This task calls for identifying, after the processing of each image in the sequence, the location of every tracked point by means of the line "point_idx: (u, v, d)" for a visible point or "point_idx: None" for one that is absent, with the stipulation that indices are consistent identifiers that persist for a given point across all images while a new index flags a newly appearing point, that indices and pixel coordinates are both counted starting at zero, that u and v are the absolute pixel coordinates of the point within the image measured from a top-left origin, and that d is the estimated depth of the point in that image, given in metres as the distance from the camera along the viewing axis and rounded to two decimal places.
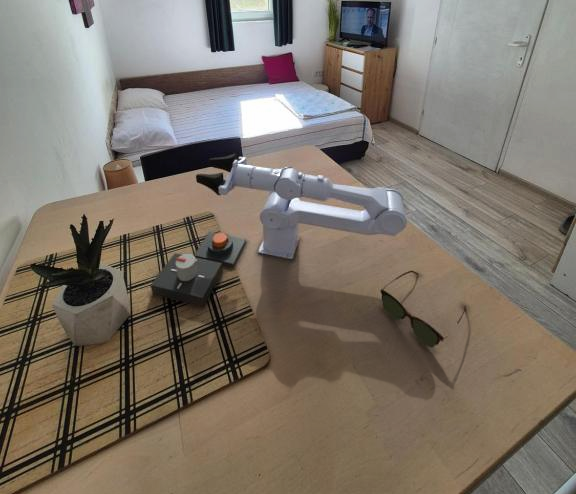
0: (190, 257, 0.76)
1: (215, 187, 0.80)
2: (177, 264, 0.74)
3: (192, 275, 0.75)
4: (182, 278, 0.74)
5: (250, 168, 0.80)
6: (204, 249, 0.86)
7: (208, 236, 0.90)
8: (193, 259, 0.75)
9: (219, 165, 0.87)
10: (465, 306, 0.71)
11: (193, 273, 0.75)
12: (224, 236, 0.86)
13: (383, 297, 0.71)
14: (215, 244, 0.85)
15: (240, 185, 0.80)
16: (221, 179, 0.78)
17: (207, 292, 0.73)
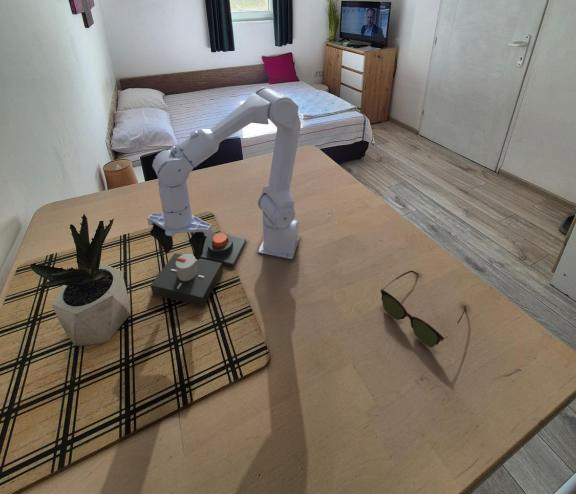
0: (190, 257, 0.76)
1: None
2: (177, 264, 0.74)
3: (192, 275, 0.75)
4: (182, 278, 0.74)
5: (170, 215, 0.66)
6: (204, 249, 0.86)
7: (208, 236, 0.90)
8: (193, 259, 0.75)
9: (169, 239, 0.74)
10: (465, 306, 0.71)
11: (193, 273, 0.75)
12: (224, 236, 0.86)
13: (383, 297, 0.71)
14: (215, 244, 0.85)
15: (191, 213, 0.70)
16: (196, 237, 0.69)
17: (207, 292, 0.73)
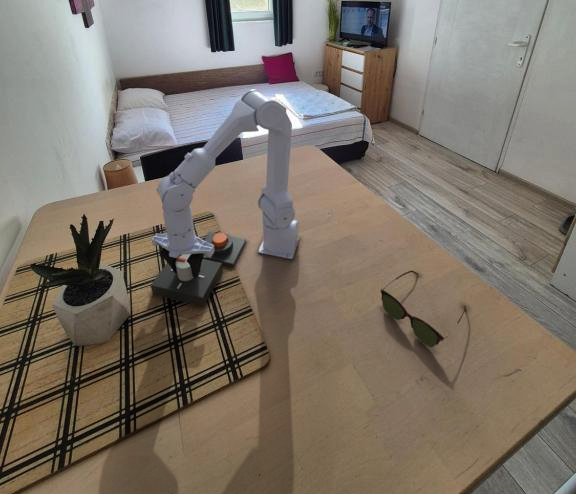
0: None
1: None
2: (177, 264, 0.74)
3: (192, 275, 0.75)
4: (182, 278, 0.74)
5: (174, 237, 0.69)
6: None
7: (208, 236, 0.90)
8: None
9: None
10: (465, 306, 0.71)
11: None
12: (224, 236, 0.86)
13: (383, 297, 0.71)
14: (215, 244, 0.85)
15: (194, 234, 0.72)
16: (194, 257, 0.71)
17: (207, 292, 0.73)
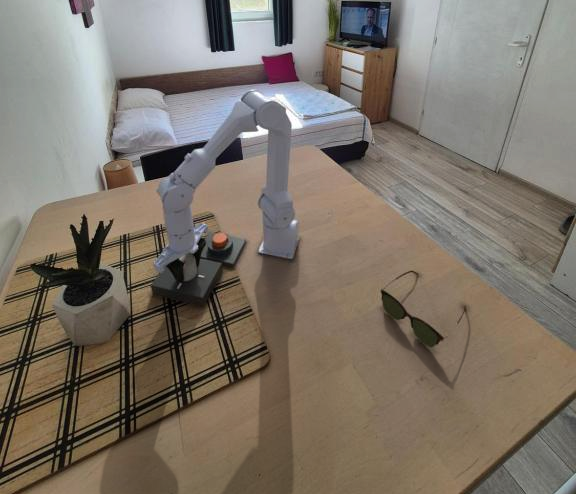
0: (183, 257, 0.76)
1: None
2: (186, 266, 0.73)
3: None
4: (194, 274, 0.75)
5: (190, 233, 0.70)
6: (204, 249, 0.86)
7: (208, 236, 0.90)
8: (187, 254, 0.77)
9: None
10: (465, 306, 0.71)
11: None
12: (224, 236, 0.86)
13: (383, 297, 0.71)
14: (215, 244, 0.85)
15: None
16: (199, 242, 0.76)
17: (207, 292, 0.73)
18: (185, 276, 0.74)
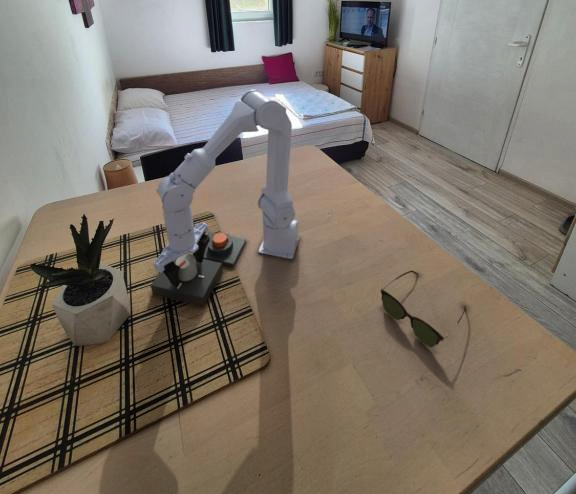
0: (183, 257, 0.76)
1: None
2: (186, 266, 0.73)
3: None
4: (194, 274, 0.75)
5: (190, 232, 0.70)
6: None
7: None
8: (187, 254, 0.77)
9: None
10: (465, 306, 0.71)
11: None
12: (224, 236, 0.86)
13: (383, 297, 0.71)
14: (215, 244, 0.85)
15: None
16: (203, 238, 0.77)
17: (207, 292, 0.73)
18: (185, 276, 0.74)
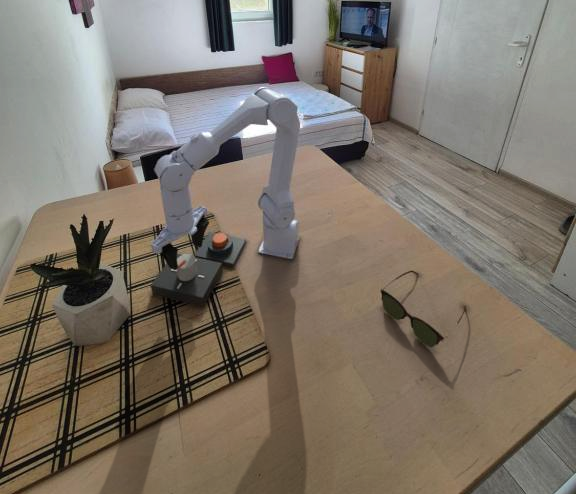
0: (183, 257, 0.76)
1: None
2: (186, 266, 0.73)
3: None
4: (194, 274, 0.75)
5: (189, 214, 0.69)
6: (204, 249, 0.86)
7: (208, 236, 0.90)
8: (187, 254, 0.77)
9: None
10: (465, 306, 0.71)
11: None
12: (224, 236, 0.86)
13: (383, 297, 0.71)
14: (215, 244, 0.85)
15: None
16: (202, 221, 0.75)
17: (207, 292, 0.73)
18: (185, 276, 0.74)
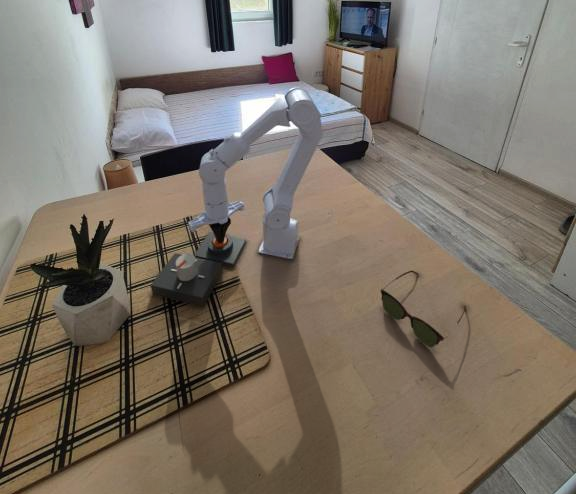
0: (183, 257, 0.76)
1: None
2: (186, 266, 0.73)
3: None
4: (194, 274, 0.75)
5: (222, 205, 0.79)
6: (204, 249, 0.86)
7: (208, 236, 0.90)
8: (187, 254, 0.77)
9: None
10: (465, 306, 0.71)
11: None
12: (224, 239, 0.86)
13: (383, 297, 0.71)
14: None
15: None
16: None
17: (207, 292, 0.73)
18: (185, 276, 0.74)
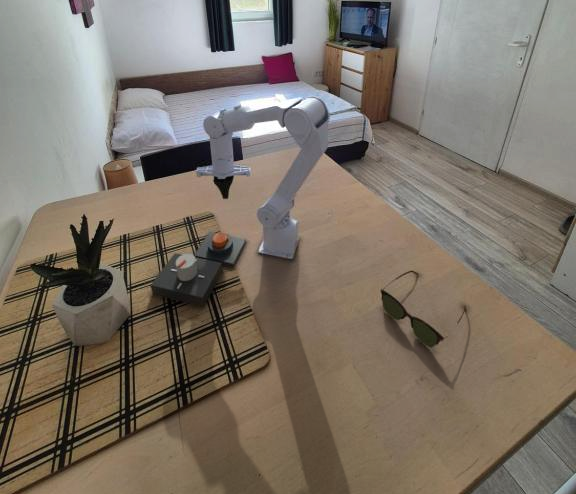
0: (183, 257, 0.76)
1: None
2: (186, 266, 0.73)
3: None
4: (194, 274, 0.75)
5: (222, 162, 0.84)
6: (204, 249, 0.86)
7: (208, 236, 0.90)
8: (187, 254, 0.77)
9: (224, 187, 0.91)
10: (465, 306, 0.71)
11: None
12: (224, 236, 0.86)
13: (383, 297, 0.71)
14: (215, 244, 0.85)
15: None
16: (228, 178, 0.88)
17: (207, 292, 0.73)
18: (185, 276, 0.74)
